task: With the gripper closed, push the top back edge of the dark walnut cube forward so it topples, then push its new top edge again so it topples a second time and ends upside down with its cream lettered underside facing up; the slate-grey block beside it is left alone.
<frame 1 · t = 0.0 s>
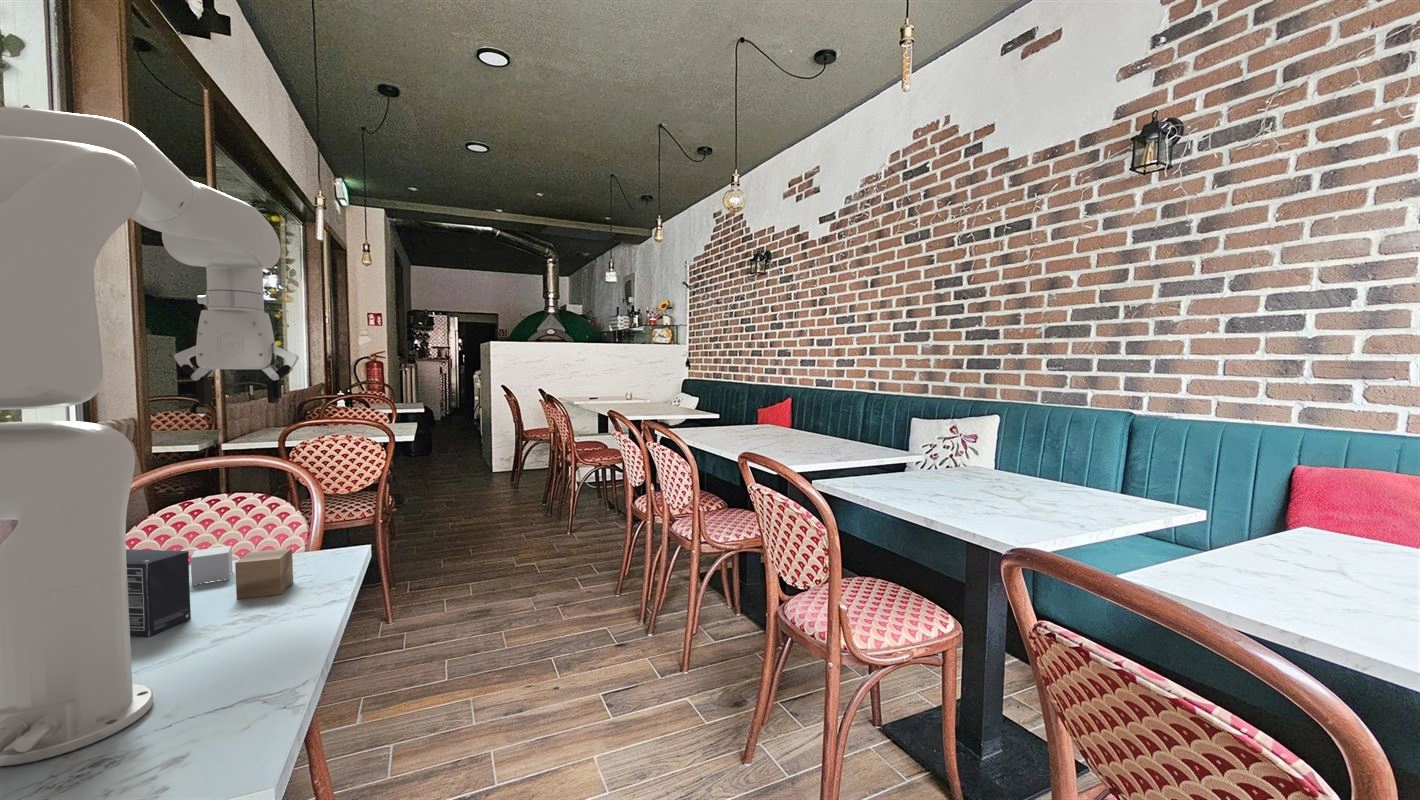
hand: (240, 403, 100), 31 cm above the table, tool pointing down, fingers open, 9 cm apart
walnut cube: (266, 590, 97), on the table
grey block: (212, 579, 103), on the table
small box: (140, 627, 84), on the table
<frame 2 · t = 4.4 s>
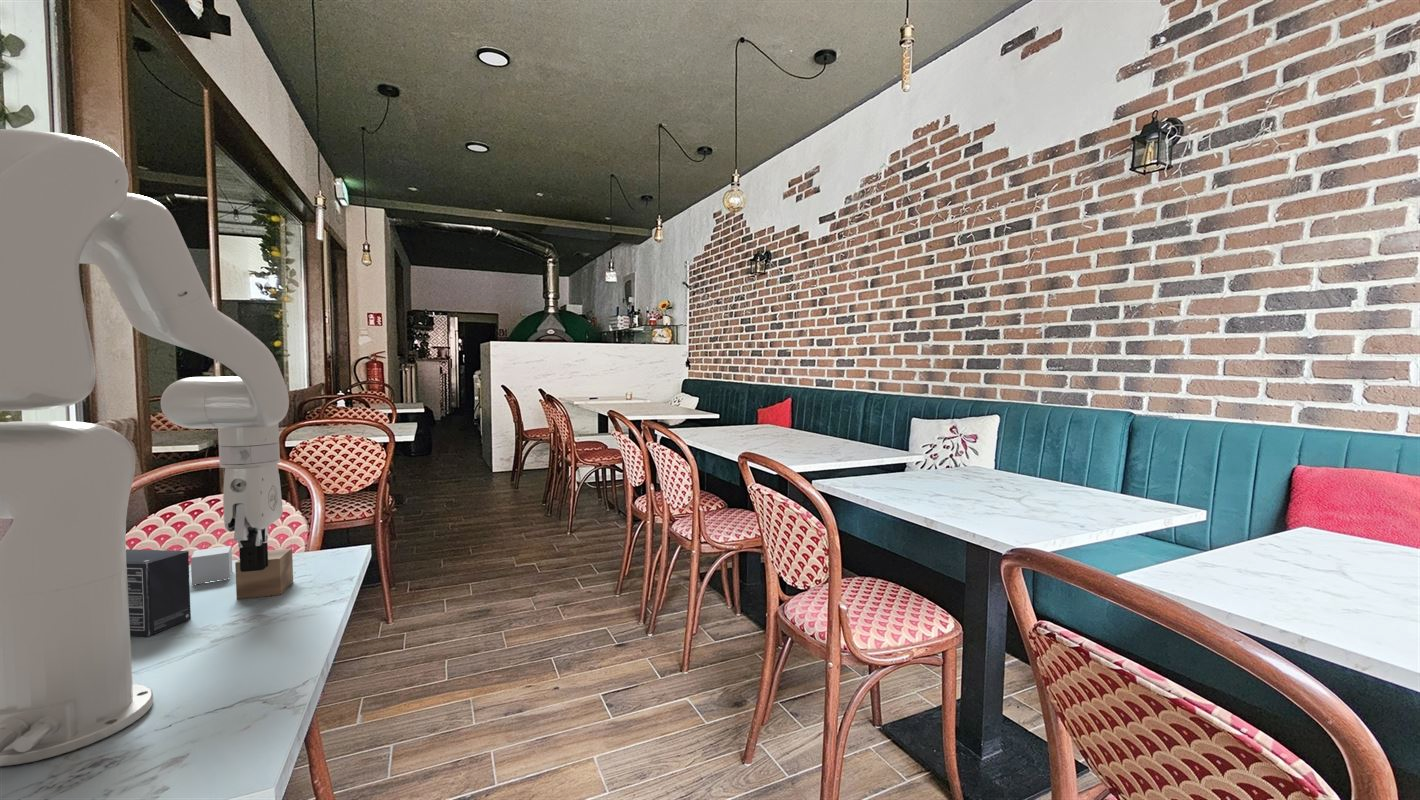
hand: (254, 569, 93), 5 cm above the table, tool pointing down, fingers closed
walnut cube: (266, 590, 97), on the table, touching gripper
everything else where it was.
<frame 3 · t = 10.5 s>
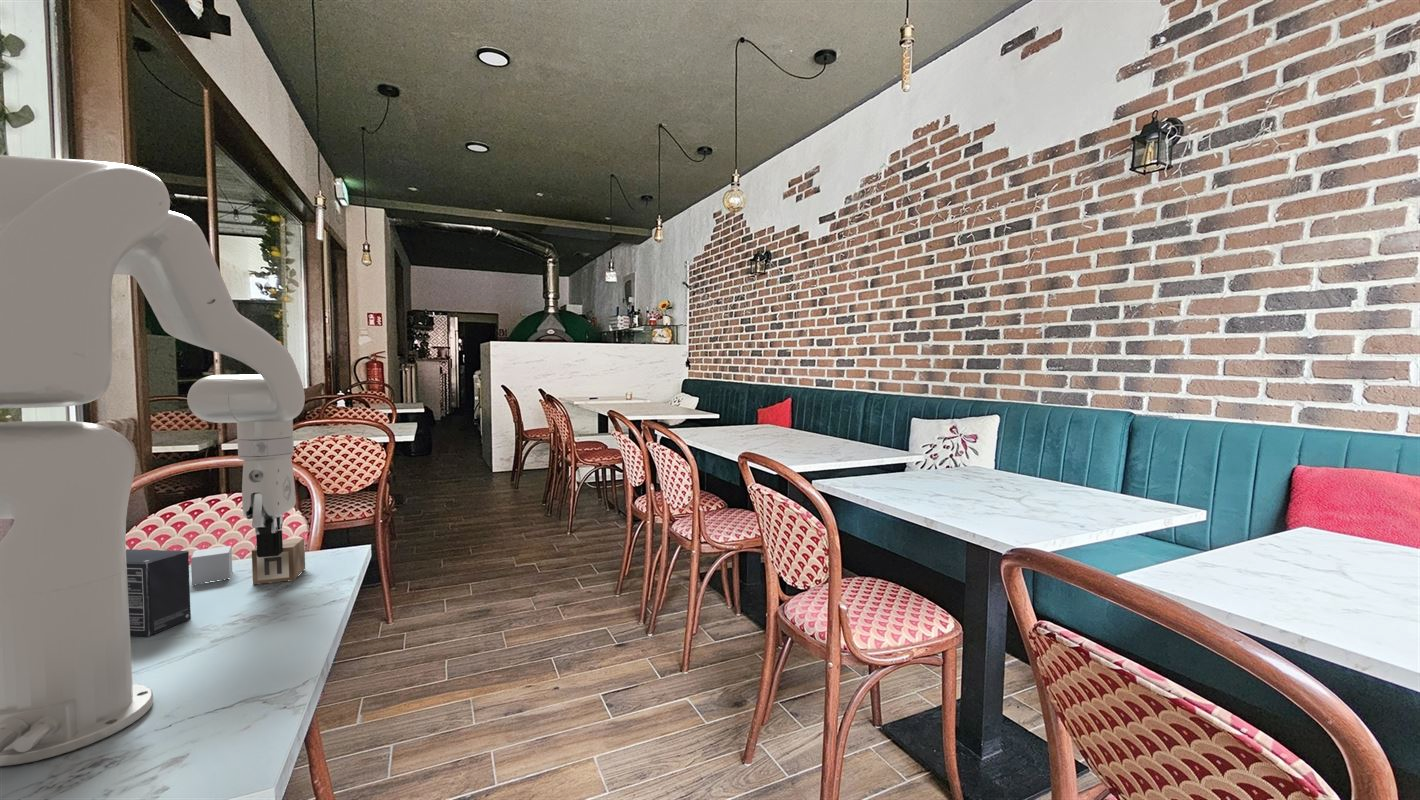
hand: (270, 554, 99), 5 cm above the table, tool pointing down, fingers closed
walnut cube: (273, 565, 100), point 3 cm above the table, tilted 90°, touching gripper
everything else where it was.
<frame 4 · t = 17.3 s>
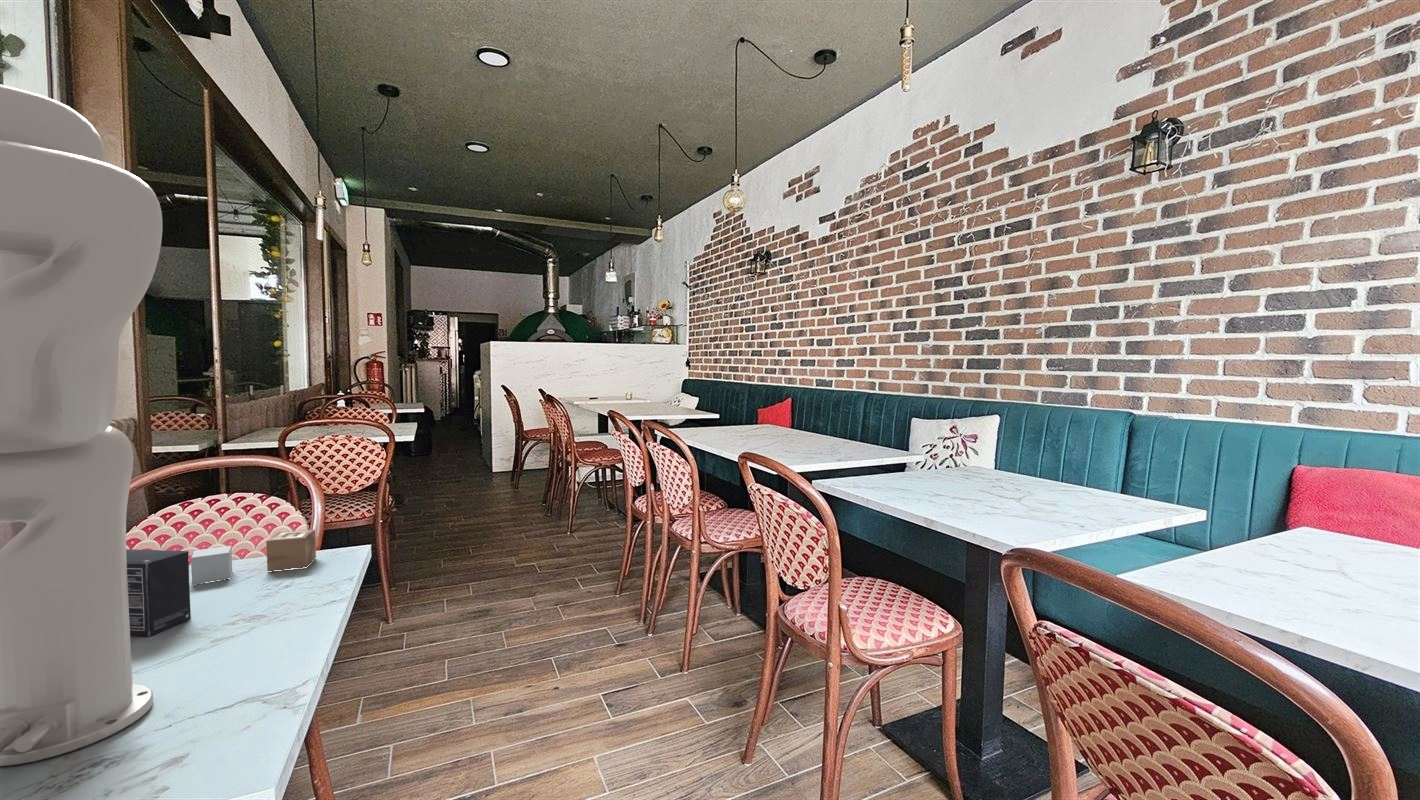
hand: (54, 445, 75), 27 cm above the table, tool pointing down, fingers closed
walnut cube: (291, 534, 109), point 6 cm above the table, tilted 180°
everything else where it was.
at the end: walnut cube tilted 180°; walnut cube inside the target area (0.9 cm from its centre), point 5.9 cm above the table; walnut cube moved 14.6 cm from its start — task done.
